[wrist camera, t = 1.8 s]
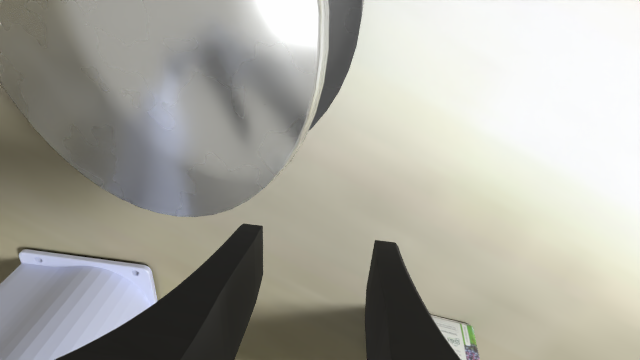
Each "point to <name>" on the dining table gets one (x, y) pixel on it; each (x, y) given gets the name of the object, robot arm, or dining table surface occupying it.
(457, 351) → the syrup box
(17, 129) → the dining table surface
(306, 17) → the cooker lid
